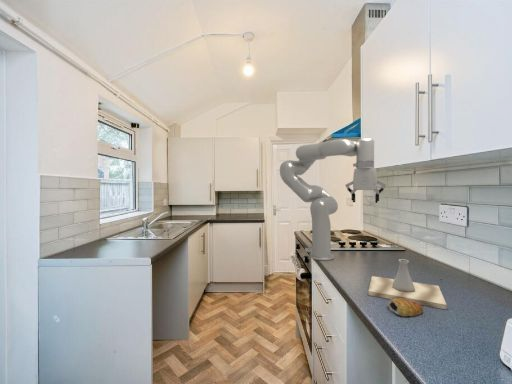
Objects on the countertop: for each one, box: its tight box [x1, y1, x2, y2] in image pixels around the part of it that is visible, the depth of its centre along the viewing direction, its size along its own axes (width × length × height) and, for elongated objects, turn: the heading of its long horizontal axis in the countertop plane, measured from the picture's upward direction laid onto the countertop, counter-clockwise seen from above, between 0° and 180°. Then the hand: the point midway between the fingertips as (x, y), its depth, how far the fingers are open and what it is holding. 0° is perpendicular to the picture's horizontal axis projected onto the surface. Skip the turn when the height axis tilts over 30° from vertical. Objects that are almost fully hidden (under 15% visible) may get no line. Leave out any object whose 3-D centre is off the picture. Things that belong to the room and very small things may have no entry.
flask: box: [393, 258, 415, 292], centre depth 89 cm, size 7×7×10 cm
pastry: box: [387, 298, 424, 318], centre depth 76 cm, size 9×7×4 cm
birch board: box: [368, 275, 448, 311], centre depth 89 cm, size 22×16×2 cm
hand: (365, 202), depth 116 cm, fingers open, 9 cm apart
